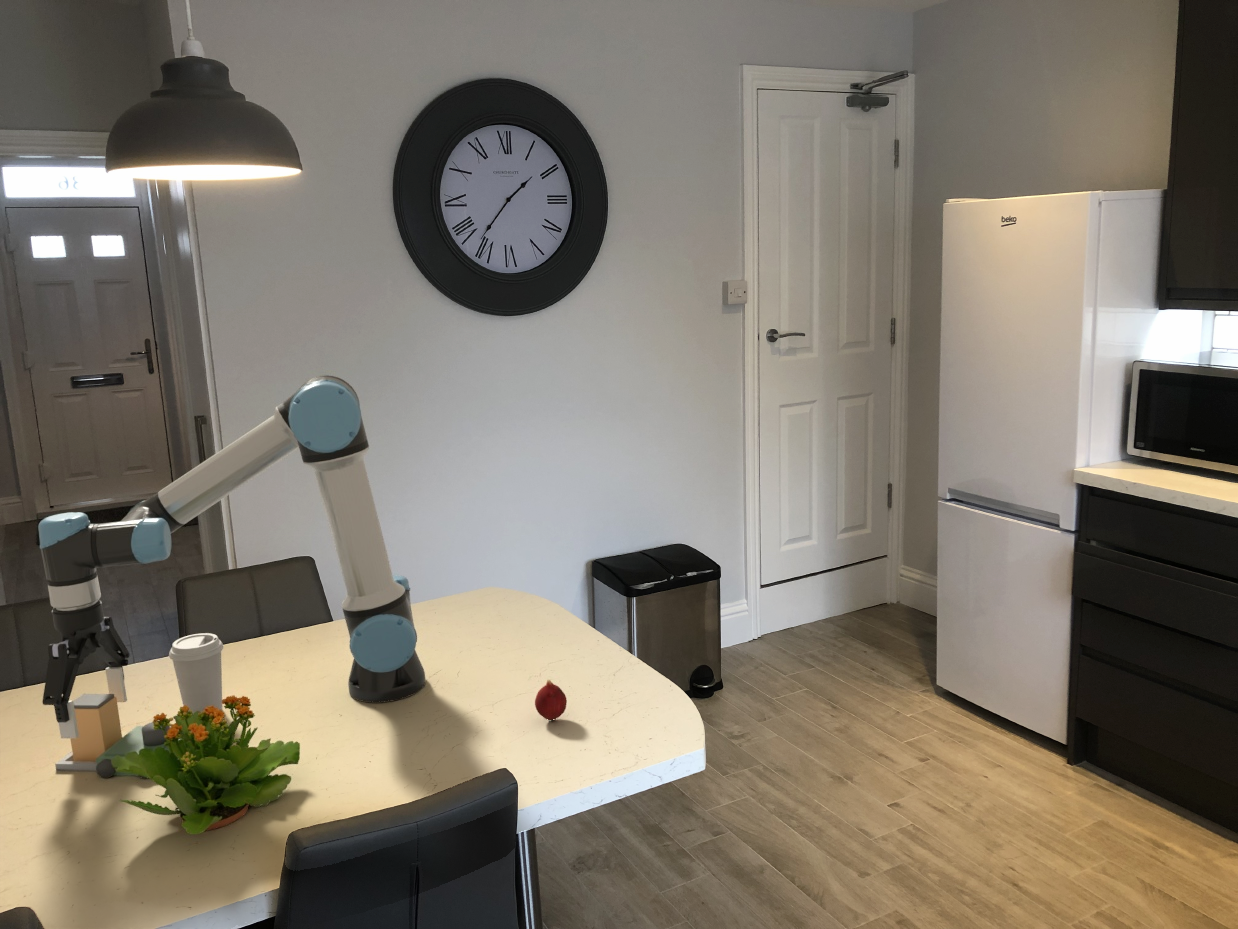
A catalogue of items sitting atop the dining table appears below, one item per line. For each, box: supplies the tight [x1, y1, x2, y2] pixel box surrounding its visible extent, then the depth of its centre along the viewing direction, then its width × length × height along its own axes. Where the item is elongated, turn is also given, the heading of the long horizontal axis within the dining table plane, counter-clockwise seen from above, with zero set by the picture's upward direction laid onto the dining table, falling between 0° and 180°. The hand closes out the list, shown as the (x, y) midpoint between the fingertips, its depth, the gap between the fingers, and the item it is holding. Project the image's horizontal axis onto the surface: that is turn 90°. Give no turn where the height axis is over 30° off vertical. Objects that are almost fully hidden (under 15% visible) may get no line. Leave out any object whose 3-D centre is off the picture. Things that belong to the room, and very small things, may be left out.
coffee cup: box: [168, 632, 224, 714], centre depth 182 cm, size 10×10×15 cm
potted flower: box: [111, 695, 301, 835], centre depth 146 cm, size 25×24×18 cm
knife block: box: [69, 693, 123, 762], centre depth 167 cm, size 6×5×11 cm
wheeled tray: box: [55, 721, 181, 780], centre depth 167 cm, size 20×14×6 cm
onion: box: [534, 679, 568, 721], centre depth 175 cm, size 6×6×8 cm
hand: (95, 718), depth 166 cm, fingers open, 13 cm apart
